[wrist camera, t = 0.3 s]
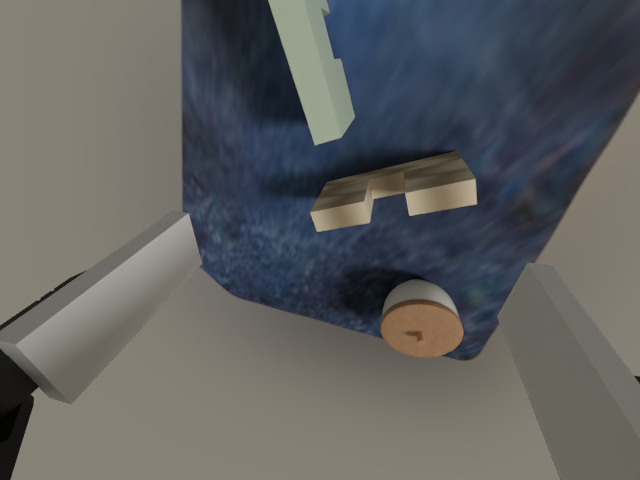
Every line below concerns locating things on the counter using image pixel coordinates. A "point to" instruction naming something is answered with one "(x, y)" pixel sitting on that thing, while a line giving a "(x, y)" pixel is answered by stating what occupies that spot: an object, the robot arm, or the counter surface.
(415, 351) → the lidded jar
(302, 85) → the sage plate
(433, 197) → the beech u-shaped block
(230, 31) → the counter surface
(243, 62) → the counter surface
